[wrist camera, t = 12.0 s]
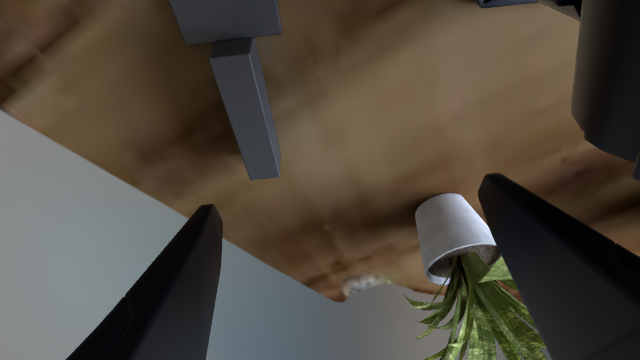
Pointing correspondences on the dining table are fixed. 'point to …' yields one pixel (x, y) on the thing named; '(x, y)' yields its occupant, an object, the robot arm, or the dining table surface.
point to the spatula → (238, 70)
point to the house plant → (471, 284)
